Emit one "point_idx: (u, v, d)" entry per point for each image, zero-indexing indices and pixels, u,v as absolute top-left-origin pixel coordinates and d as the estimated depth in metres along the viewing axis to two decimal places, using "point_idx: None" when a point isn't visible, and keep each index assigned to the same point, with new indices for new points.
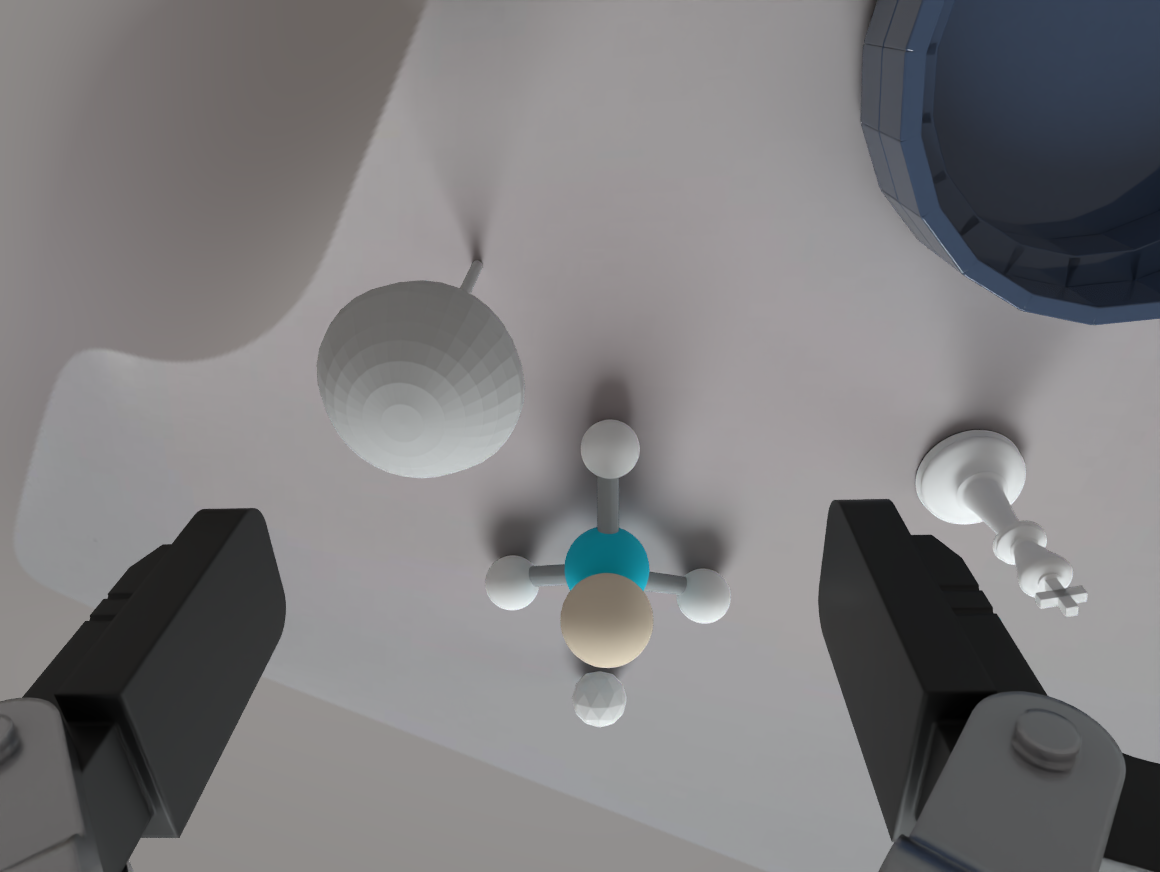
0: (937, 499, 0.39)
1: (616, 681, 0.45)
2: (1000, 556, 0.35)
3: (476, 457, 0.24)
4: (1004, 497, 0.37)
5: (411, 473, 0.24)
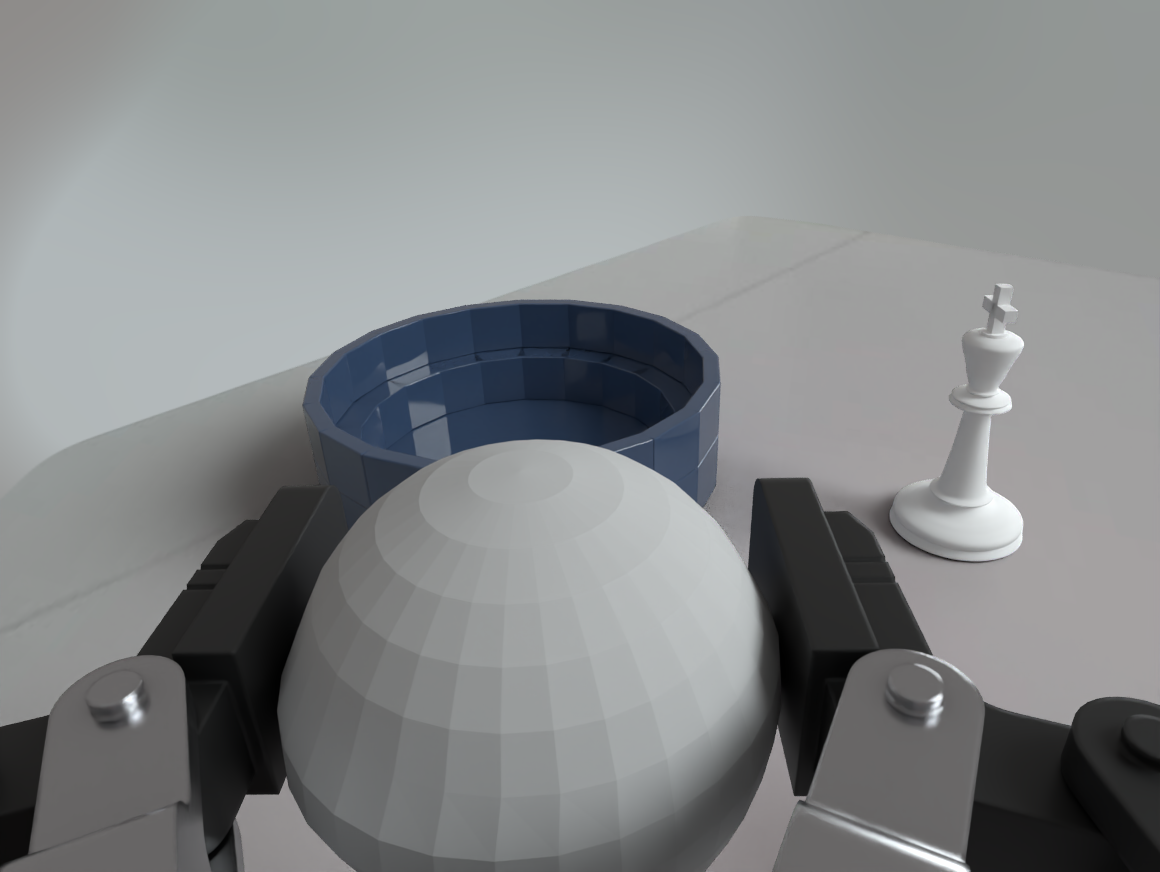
0: (986, 529, 0.31)
1: None
2: (1001, 405, 0.30)
3: None
4: (949, 455, 0.32)
5: (699, 554, 0.09)
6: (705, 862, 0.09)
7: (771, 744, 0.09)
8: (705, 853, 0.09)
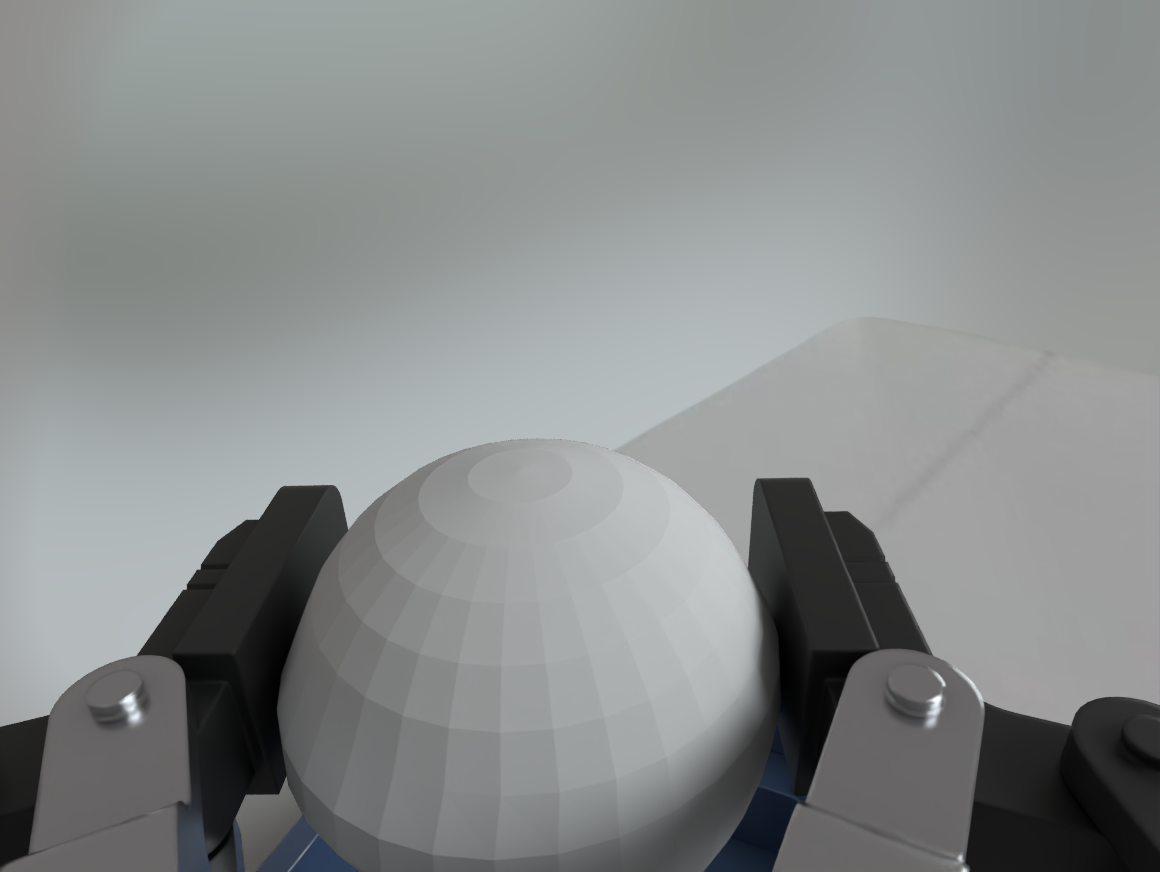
0: None
1: None
2: None
3: None
4: None
5: (699, 553, 0.09)
6: (705, 861, 0.09)
7: (771, 743, 0.09)
8: (705, 852, 0.09)
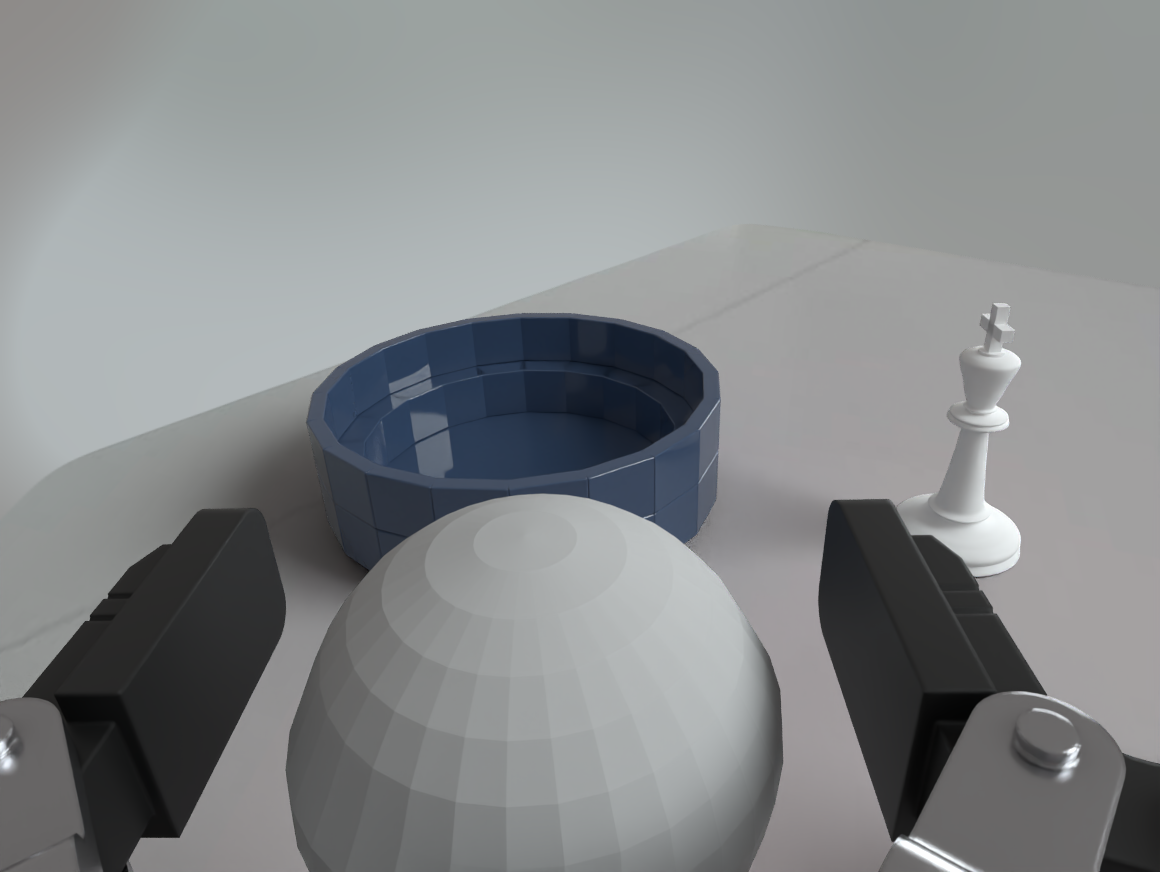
0: (984, 544, 0.32)
1: None
2: (999, 422, 0.30)
3: (696, 556, 0.11)
4: (947, 471, 0.33)
5: (701, 618, 0.09)
6: None
7: (773, 803, 0.09)
8: None
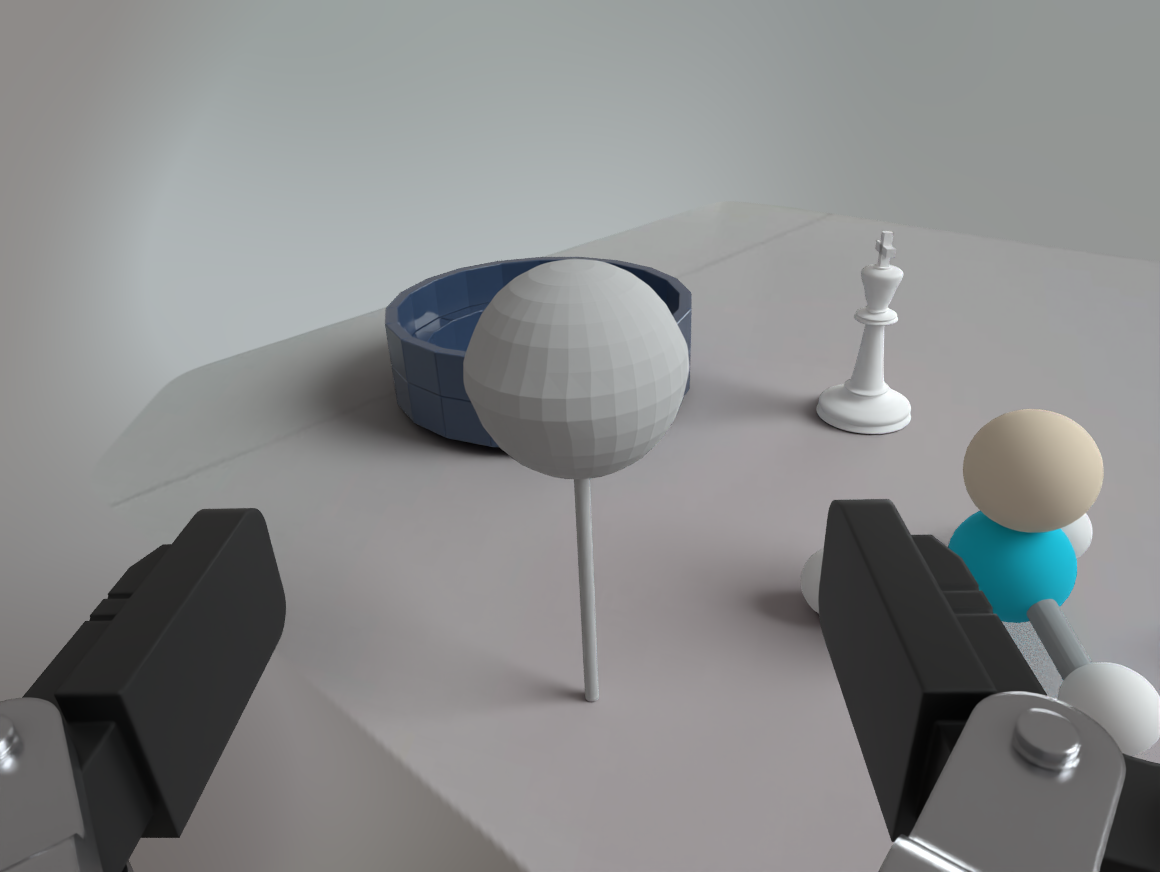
0: (882, 411, 0.43)
1: None
2: (889, 318, 0.42)
3: None
4: None
5: (648, 297, 0.21)
6: (651, 425, 0.21)
7: (681, 384, 0.21)
8: (650, 419, 0.21)
